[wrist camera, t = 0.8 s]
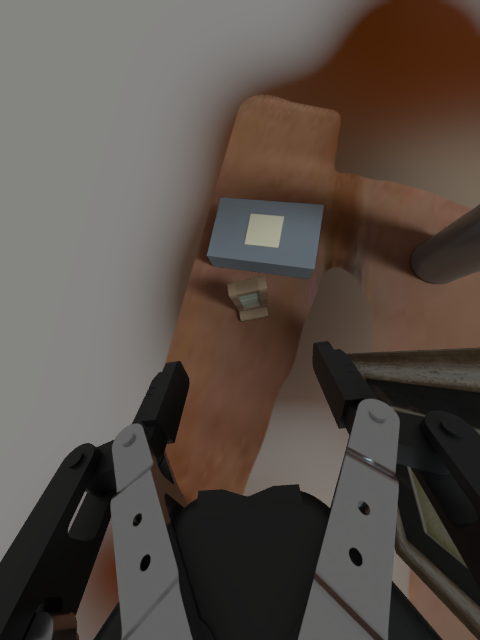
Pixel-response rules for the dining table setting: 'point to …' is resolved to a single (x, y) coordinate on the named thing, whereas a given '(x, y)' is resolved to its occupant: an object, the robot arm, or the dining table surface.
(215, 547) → the robot arm
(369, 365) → the picture frame
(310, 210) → the display step
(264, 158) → the dining table surface
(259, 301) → the walnut frame
